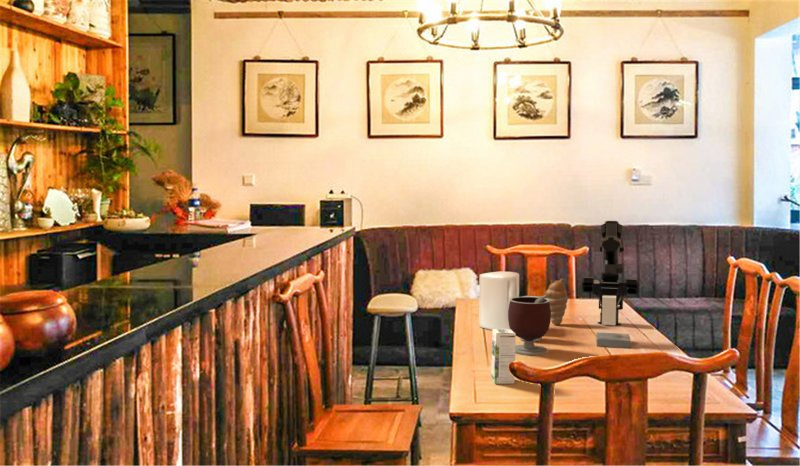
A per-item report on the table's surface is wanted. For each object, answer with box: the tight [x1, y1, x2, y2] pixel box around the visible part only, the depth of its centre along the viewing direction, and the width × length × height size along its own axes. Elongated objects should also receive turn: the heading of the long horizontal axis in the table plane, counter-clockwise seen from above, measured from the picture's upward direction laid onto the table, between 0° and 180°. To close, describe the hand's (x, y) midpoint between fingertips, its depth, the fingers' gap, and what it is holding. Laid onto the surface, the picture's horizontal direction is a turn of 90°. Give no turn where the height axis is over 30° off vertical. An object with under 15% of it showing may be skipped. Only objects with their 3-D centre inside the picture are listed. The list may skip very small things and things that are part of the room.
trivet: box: [595, 331, 632, 349], centre depth 251 cm, size 11×11×3 cm
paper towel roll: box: [478, 271, 520, 331], centre depth 274 cm, size 15×14×22 cm
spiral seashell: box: [544, 278, 569, 326], centre depth 282 cm, size 9×8×18 cm
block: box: [601, 295, 616, 326], centre depth 251 cm, size 4×4×10 cm
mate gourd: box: [508, 294, 551, 357], centre depth 239 cm, size 16×14×20 cm
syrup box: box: [490, 329, 517, 385], centre depth 205 cm, size 6×6×14 cm
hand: (609, 305), depth 249 cm, fingers closed on block, 4 cm apart
